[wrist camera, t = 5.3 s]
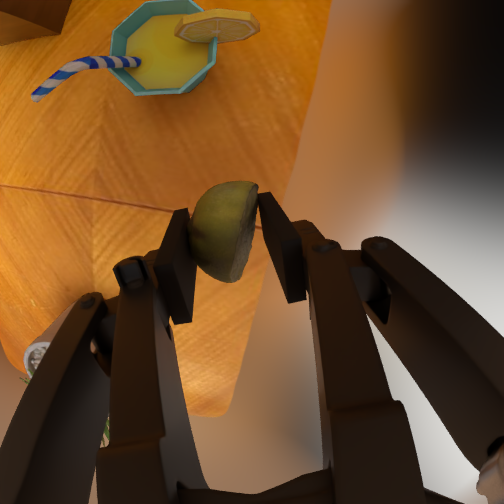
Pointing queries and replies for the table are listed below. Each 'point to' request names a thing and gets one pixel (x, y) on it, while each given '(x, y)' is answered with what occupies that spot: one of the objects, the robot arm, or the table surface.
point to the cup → (162, 47)
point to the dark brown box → (31, 19)
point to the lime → (224, 229)
